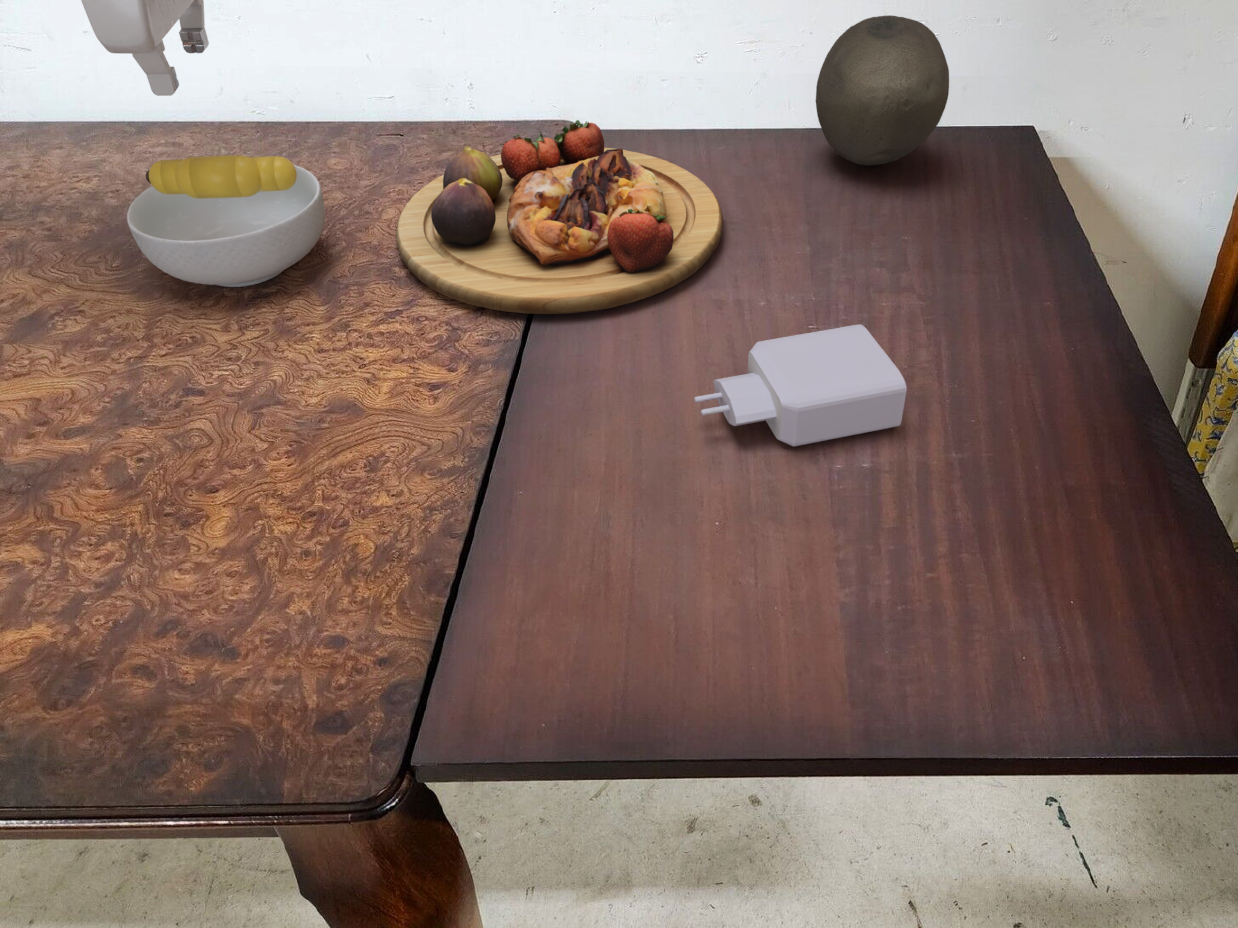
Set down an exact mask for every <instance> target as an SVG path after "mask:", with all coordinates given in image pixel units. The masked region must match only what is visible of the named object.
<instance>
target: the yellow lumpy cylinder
mask: <svg viewBox="0 0 1238 928" xmlns="http://www.w3.org/2000/svg"><path fill="white" fill-rule="evenodd" d="M294 165H295V164H293V162H292V161H290V160H289V159H288V158H286V157H284V156H282V155H281V156H279V155H275V156H273V155H272V156H269V155H268V156H247V155H244V154H236V155H235V154H234V155H232V154H231V155H204V156H203V155H201V156H199V155H197V156H188V157H186V158H177V159H176V158H175V159H162V160H161V159H160V160H157V161H156V162H154V163H153V164H152V165H151V166H150V168H149V169H148V170H147V171H146V173H145V179H146V181H147V182H148V183H149V184H150V185H151V186H153V187H154V188H155V189H156V190H157V191H159V192H161V193H163V194H169V195H170V194H186V195H188V196H190V197H193V198H198V199H205V198H235V197H250V196H253V195H255V194H256V193H258V192H261V191H284V190H288V189H290V188H291V187H292V186H293V185H294V184H295V182H296V179H297V172H296V168H295V167H294Z"/></svg>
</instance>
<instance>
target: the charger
mask: <svg viewBox="0 0 1238 928" xmlns="http://www.w3.org/2000/svg"><path fill="white" fill-rule="evenodd" d="M712 384H713V388H714V392H713V393H709V394H703V395H697V396H695V397H694V399H693V400H694V402H695V403H702V402H708V401H713V400H717V403H718V405H719V406H714V407H709V408H708V407H707V408H703V409H701V410H700V415H702V416H709V415H714V414H719V413H720V414H721V413H722V414H723V415H724V417H725V419H726V421H727V422H728V424H729V425H731V426H733V427H738V426H743V425H748V424H754V423H758V422H759V423H760V422H763V421H764V422H766V423H767V425H768V427H769V428H770V430H771V432H772V433H773V435H774V437H775V438H776V439H777V440H778V441H780V442H781V443H784V444H787V445H788V446H791V447H798V446H803V445H809V444H814V443H820V442H824V441H829V440H834V439H839V438H845V437H850V436H855V435H860V434H865V433H869V432H870V433H871V432H876V431H881V430H886V429H890V428H897V427H900V426H901V424H902V421H903V416H904V409H905V402H906V396H907V383H906V380H905V378H904V376H903V375H902V372H901V371H900V370H899V368H898V367H897V366H896V364H895V363H894V362H893V360H892V359H891V358H890V357H889V356H888V354H887V353H886V352H885V350H884V349H883V348H882V346H880V344H879V342H877V340H876V339H875V338H874V337H873V334H871V333H870V331H869V330H868V329H867V328H866V327H865V326H864V325H863V324H860V323H858V324H853V325H847V326H846V325H845V326H840V327H835V328H829V329H824V330H823V329H822V330H817V331H813V332H806V333H801V334H796V335H795V334H794V335H789V336H783V337H778V338H777V337H776V338H771V339H765V340H759V341H757V342H756V343H755V344H754V345H753V346H752V348H751V349H750V350H749V351H748V360H747V373H744V374H740V375H733V376H728V377H722V378H717V379H716V378H715V379H714V380H713V381H712Z"/></svg>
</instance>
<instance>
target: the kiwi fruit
mask: <svg viewBox="0 0 1238 928" xmlns="http://www.w3.org/2000/svg"><path fill="white" fill-rule="evenodd" d="M815 88H816V89H815V109H816V115H817V120H818V122H819V126H820V128H821V130H822V133H823V136H824V139H825V140H826V141H827V143H828V144H829V146H830V147H831V149H832V150H833V151H834V152H835V153H836V154H838V155H839V156H840V157H842V158H843V159H845V160H847V161H849V162H851V163H853V164H857V165H860V166H880V165H885V164H888V163H893V162H896V161H898V160H900V159H902V158H904V157H905V156H907V155H909V154H910V153H911V152H913V151H914V150H916V149H917V148H919V147H920V146H921V145H922V144H923V143H924V142H926V140H927V139H928V138H929V137H930V136H931V135H932V133H933V132H934V130H935V129H936V128H937V127H938V125H939V123H940V121H941V120H942V119H941V118H942V117H943V114H944V112H945V110H946V106H947V103H948V99H949V93H950V69H949V65H948V62H947V58H946V55H945V53H944V49H943V47H942V45H941V43H940V40H939V38H937V36H936V34H935V33H934V32H933V30H931V29H930V28H929V27H928V26H926V25H925V24H924V23H922V22H920V21H918V20H915V19H912V18H910V17H909V18H907V17H904V16H897V15H892V14H891V15H877V16H872V17H868V18H865V19H863V20H861V21H858V22H857V23H854V25H851V26H849V27H848V28H847V29H846V30H845V31H843V33H842V34H840V36H839V37H838V38H837V39H836V40H835V41H834V43H833V45H832V46H831V47H830V49H829V51H828V52H827V54H826V56H825V57H824V61H823V62H822V65H821V67H820V71H819V74H818V77H817V82H816V87H815Z"/></svg>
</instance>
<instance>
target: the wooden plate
mask: <svg viewBox="0 0 1238 928" xmlns="http://www.w3.org/2000/svg"><path fill="white" fill-rule="evenodd" d="M539 133H540V134H539V135H538V136H537V138H535V139H534V140H533V141H534V142H533V141H532V138H531V137H528V136H524V138H523V137H521V136H520V134H519V133H517V134H515V135H514V136H513V137H512V139H509V140H506V141H505V142H504V143H500V144H499V146H502V148H501V153H500V154H496V155H491V156H490V155H488V154H487V153H485V152H482V151H481V150H477V149H474V148H473V147H471V146H469V145H467V146H466V147H464V149H462V150H461V151H459V152H458V153H456V155H455V156H453V158H452V159H451V160H450V162H448V164H447V165H446V166H445V170H444V173H443V174H441V175H440V176H438V177H436V178H435V179H433V180H432V181H430V182H428V183H427V184H425V185H424V186H423V187H421V188H420V189H419V190H418V191H417V192H416V193H415V194H414V195H413V196H412V197H411V198H410V199H409V200H408V202H407V203H406V205H404V207H403V209H402V211H401V213H400V214H399V217H398V220H397V222H396V227H395V228H396V229H395V240H396V246H397V249H398V254H399V256H400V258H401V260H402V262H403V263H404V265H405V266H406V268H407V269H408V270H409V271H410V272H411V273H412V274H413V275H414V276H415V277H416V278H417V280H419V281H420V282H422V283H424V284H425V285H426V286H427V287H429V288H430V289H432V290H434V291H435V292H438V293H439V294H441V295H443V296H445V297H448V298H449V299H452V300H456V301H458V302H461V303H465V304H468V305H472V306H476V307H480V308H483V309H484V308H485V309H489V310H495V311H499V312H509V313H518V314H529V315H532V314H533V315H562V314H576V313H578V314H579V313H585V312H593V311H601V310H606V309H612V308H616V307H620V306H623V305H628V304H631V303H635V302H638V301H641V300H644V299H647V298H651V297H653V296H654V295H657V294H660V293H662V292H664V291H666V290H669V289H671V288H673V287H674V286H676V285H678V284H680V283H682V282H683V281H685V280H687V279H688V278H689V277H691V276H692V275H693V274H695V273H696V272H697V271H698V270H699V269H700V268H702V267H703V265H704V264H705V263H706V262H707V261H708V260H709V259H710V258H711V257H712V256H713V254H714V252H715V250H717V247H718V246H719V244H720V241H721V239H722V235H723V228H724V218H723V210H722V207H721V204H720V202H719V200H718V198H717V196H716V195H715V194H714V192H713V191H712V190H711V188H710V187H709V186H708V185H707V184H705V182H704V181H703V180H702V179H700V178H699V177H697V176H696V175H694V174H692V172H689V171H688V170H687V169H685V168H683V167H681V166H679V165H677V164H675V163H672V162H671V161H668V160H665V159H662V158H659V157H655V156H652V155H649V154H645V153H642V152H637V151H631V150H626V149H623V148H614V147H605V139H604V135H603V132H602V130H601V128H600V127H599V126H598V125H597V124H596V123H594V122H589V121H587V120H586V121H585V122H584V123H581V121H580V120H579V119H577V120H575V122H574V123H569V127H568V126H567V125H565V126H563V127H562V129H561V133H556V134H555V136H554V137H553V139H552V138H551V137H544V136H543V133H542V132H541V131H539Z"/></svg>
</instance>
